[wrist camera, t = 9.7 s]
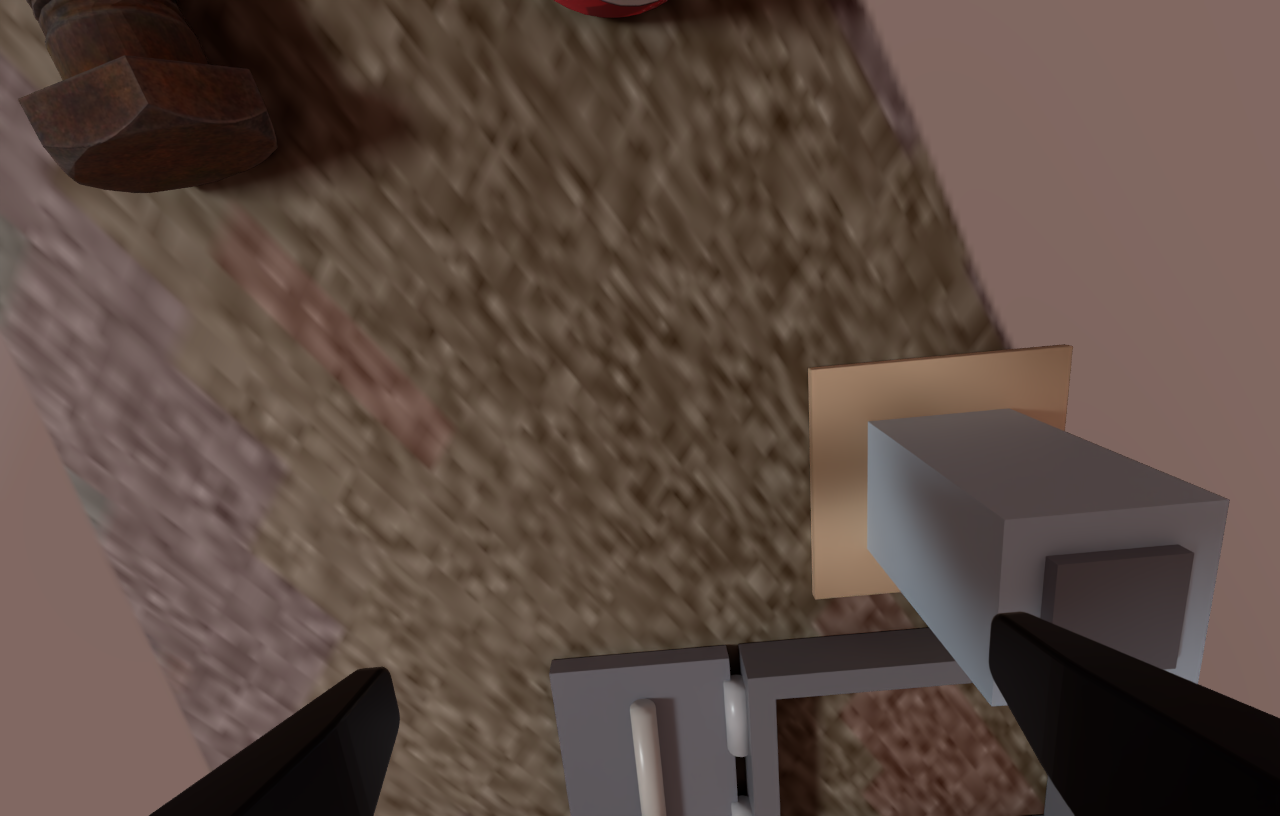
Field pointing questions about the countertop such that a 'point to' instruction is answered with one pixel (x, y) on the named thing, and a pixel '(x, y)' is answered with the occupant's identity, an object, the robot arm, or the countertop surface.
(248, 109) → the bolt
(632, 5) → the soda can
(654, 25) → the countertop surface
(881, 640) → the case
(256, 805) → the robot arm
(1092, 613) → the block
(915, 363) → the pad
